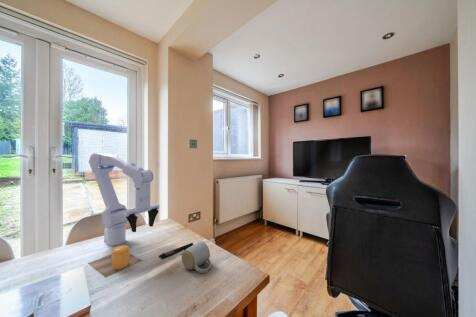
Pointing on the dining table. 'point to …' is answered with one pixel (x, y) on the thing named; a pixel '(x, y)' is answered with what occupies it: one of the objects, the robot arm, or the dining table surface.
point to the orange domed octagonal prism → (120, 257)
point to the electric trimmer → (175, 251)
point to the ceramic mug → (196, 256)
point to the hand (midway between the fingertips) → (142, 228)
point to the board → (110, 265)
